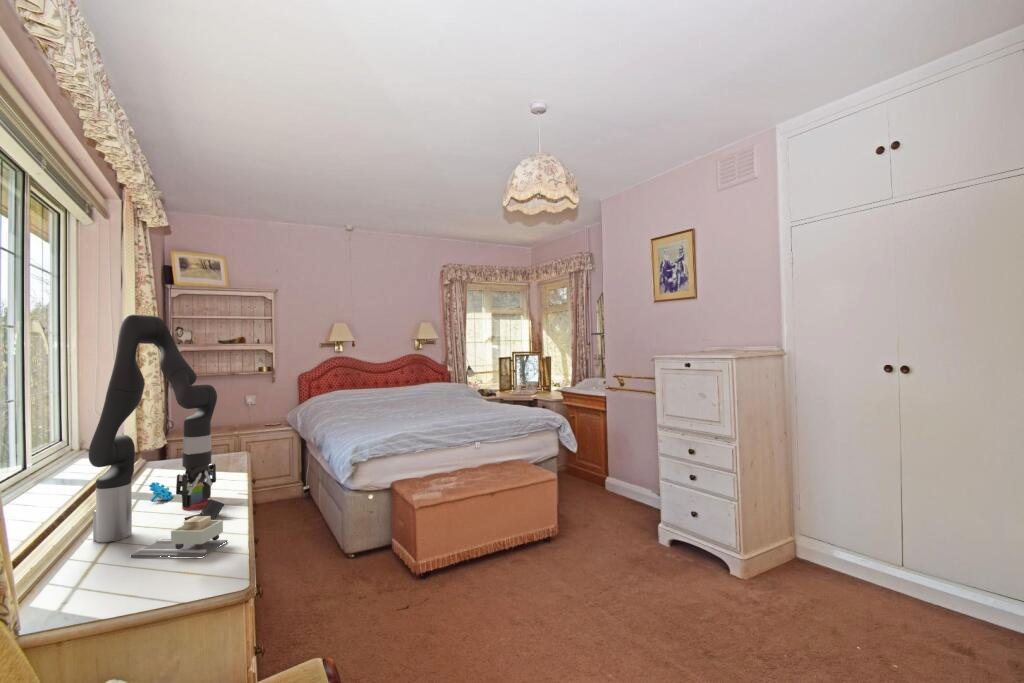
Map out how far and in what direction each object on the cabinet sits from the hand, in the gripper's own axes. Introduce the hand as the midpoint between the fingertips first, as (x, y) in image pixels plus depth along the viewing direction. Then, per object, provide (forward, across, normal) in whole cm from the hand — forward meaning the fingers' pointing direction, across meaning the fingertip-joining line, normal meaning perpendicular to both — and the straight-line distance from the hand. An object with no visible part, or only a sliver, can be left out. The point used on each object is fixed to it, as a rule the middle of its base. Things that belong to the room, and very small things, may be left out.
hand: (196, 502), depth 153 cm
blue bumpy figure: (+16, -49, -51) cm, 72 cm away
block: (+10, 0, 0) cm, 10 cm away
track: (+14, 0, -5) cm, 15 cm away
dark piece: (+15, -27, -17) cm, 35 cm away
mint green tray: (+13, 0, 0) cm, 13 cm away
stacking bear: (+15, -41, -30) cm, 53 cm away
